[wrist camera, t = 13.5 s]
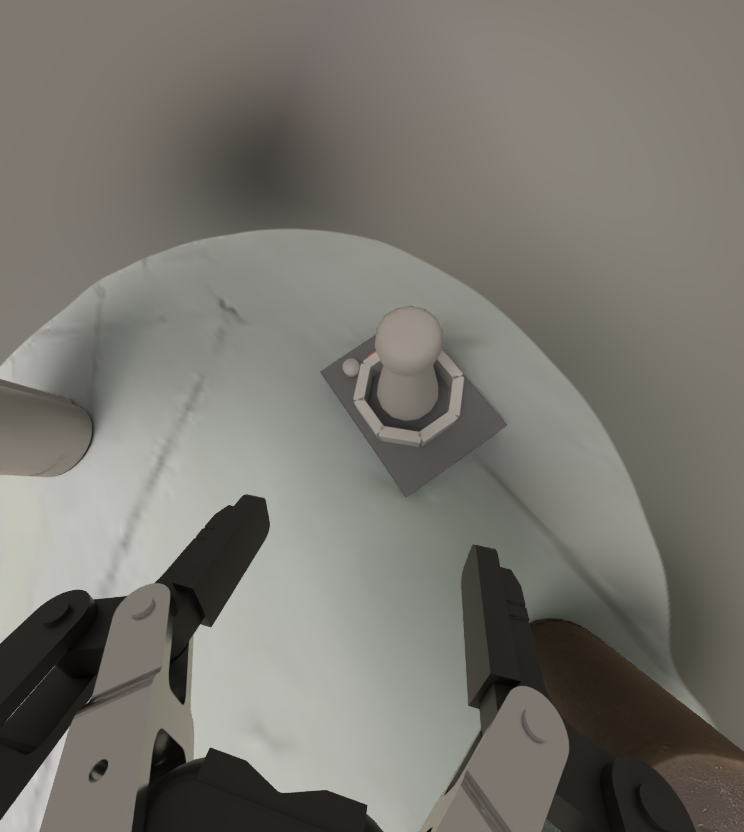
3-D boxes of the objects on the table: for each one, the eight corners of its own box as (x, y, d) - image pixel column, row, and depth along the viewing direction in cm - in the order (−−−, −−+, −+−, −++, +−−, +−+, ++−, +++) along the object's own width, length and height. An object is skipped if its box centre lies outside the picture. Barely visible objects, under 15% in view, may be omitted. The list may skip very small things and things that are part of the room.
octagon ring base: (327, 382, 34) (313, 361, 29) (408, 327, 35) (409, 297, 30) (405, 497, 30) (406, 497, 25) (497, 431, 31) (516, 418, 25)
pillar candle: (518, 599, 27) (650, 729, 12) (635, 648, 25) (957, 871, 10) (490, 717, 25) (608, 1039, 10) (615, 780, 23) (977, 1284, 8)
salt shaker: (397, 363, 31) (392, 274, 18) (445, 388, 29) (476, 310, 17) (368, 409, 30) (343, 348, 17) (417, 436, 28) (427, 392, 16)
